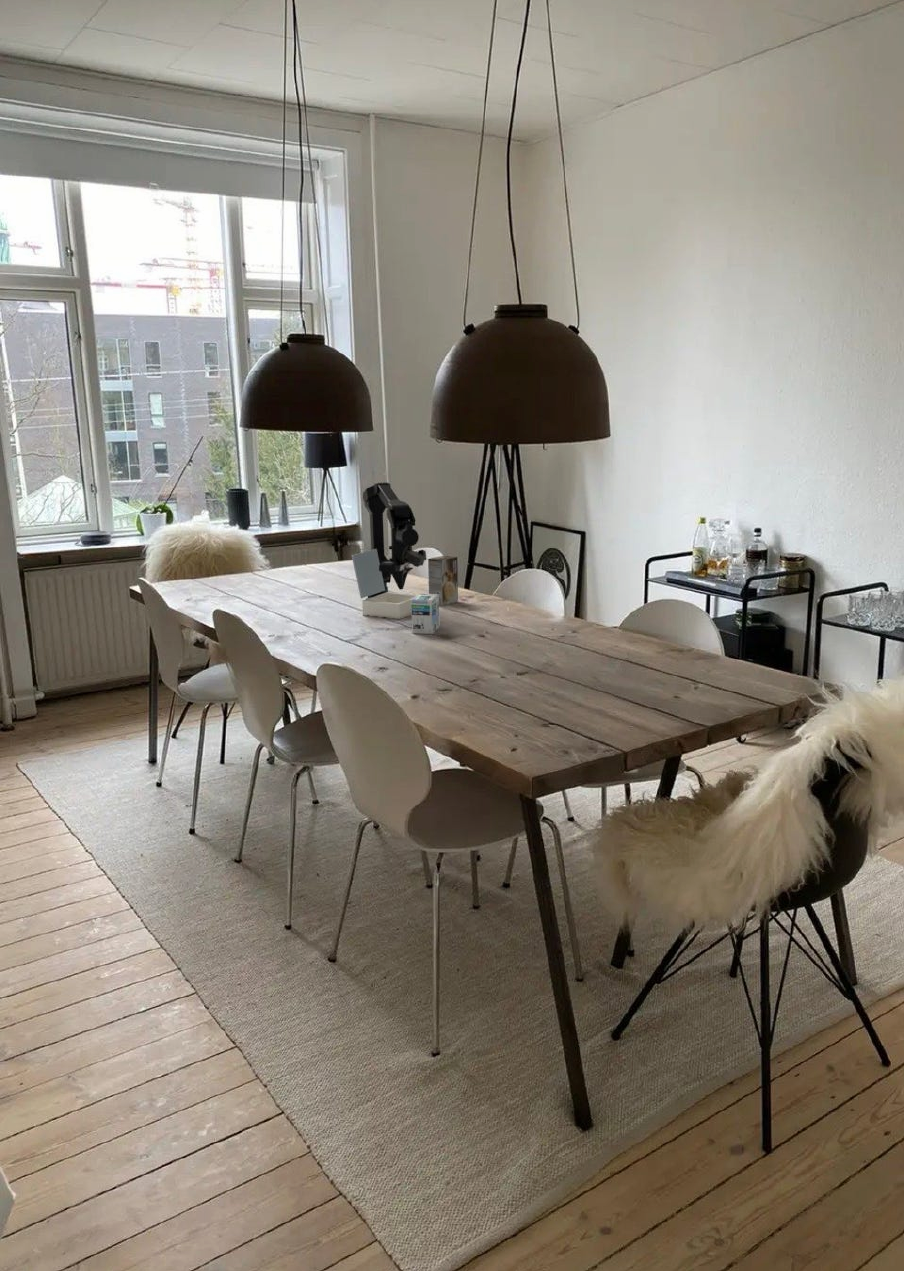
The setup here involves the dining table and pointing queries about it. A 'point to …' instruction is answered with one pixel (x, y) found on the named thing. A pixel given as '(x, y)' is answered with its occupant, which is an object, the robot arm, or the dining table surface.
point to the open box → (388, 605)
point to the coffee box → (443, 578)
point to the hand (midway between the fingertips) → (401, 589)
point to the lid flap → (368, 573)
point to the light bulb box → (425, 613)
